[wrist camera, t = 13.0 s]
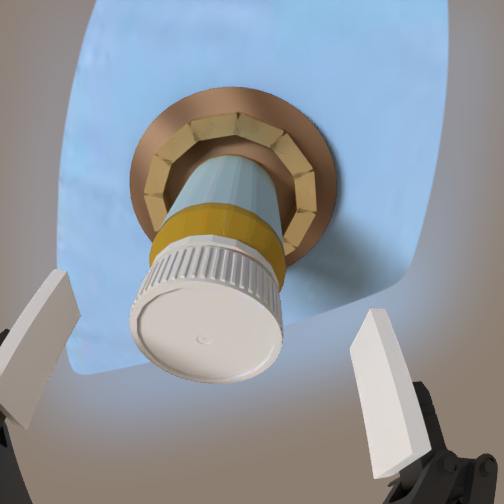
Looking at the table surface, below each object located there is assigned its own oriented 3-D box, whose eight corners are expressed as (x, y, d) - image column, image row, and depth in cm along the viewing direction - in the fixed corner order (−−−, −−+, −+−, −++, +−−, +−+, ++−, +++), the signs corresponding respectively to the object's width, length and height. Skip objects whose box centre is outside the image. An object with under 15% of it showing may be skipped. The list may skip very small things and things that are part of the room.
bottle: (282, 223, 26) (303, 379, 13) (202, 239, 27) (162, 391, 14) (265, 142, 22) (277, 251, 9) (176, 163, 23) (87, 285, 10)
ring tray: (248, 43, 19) (247, 40, 17) (368, 209, 26) (377, 222, 24) (98, 179, 24) (85, 190, 22) (221, 300, 32) (219, 317, 29)
